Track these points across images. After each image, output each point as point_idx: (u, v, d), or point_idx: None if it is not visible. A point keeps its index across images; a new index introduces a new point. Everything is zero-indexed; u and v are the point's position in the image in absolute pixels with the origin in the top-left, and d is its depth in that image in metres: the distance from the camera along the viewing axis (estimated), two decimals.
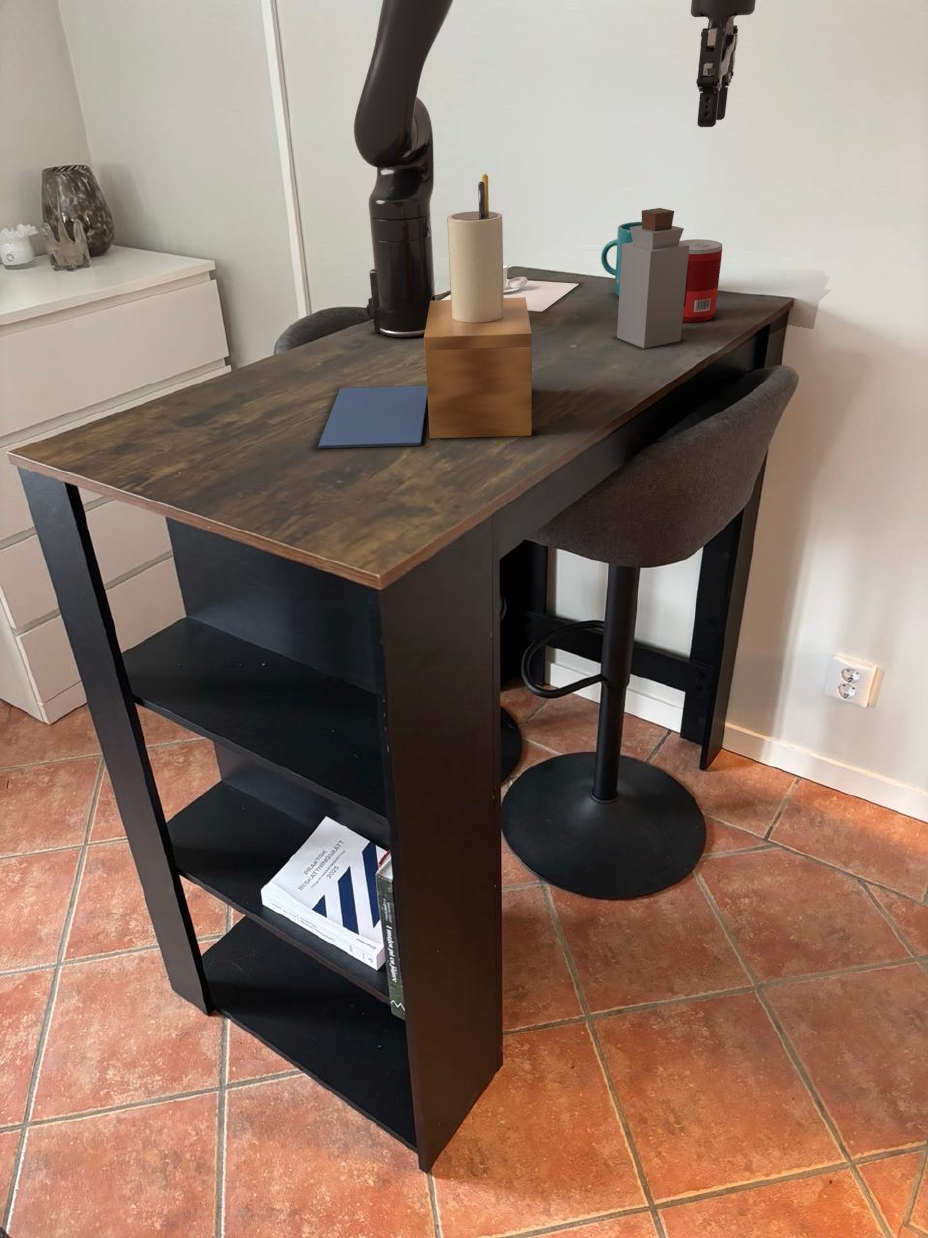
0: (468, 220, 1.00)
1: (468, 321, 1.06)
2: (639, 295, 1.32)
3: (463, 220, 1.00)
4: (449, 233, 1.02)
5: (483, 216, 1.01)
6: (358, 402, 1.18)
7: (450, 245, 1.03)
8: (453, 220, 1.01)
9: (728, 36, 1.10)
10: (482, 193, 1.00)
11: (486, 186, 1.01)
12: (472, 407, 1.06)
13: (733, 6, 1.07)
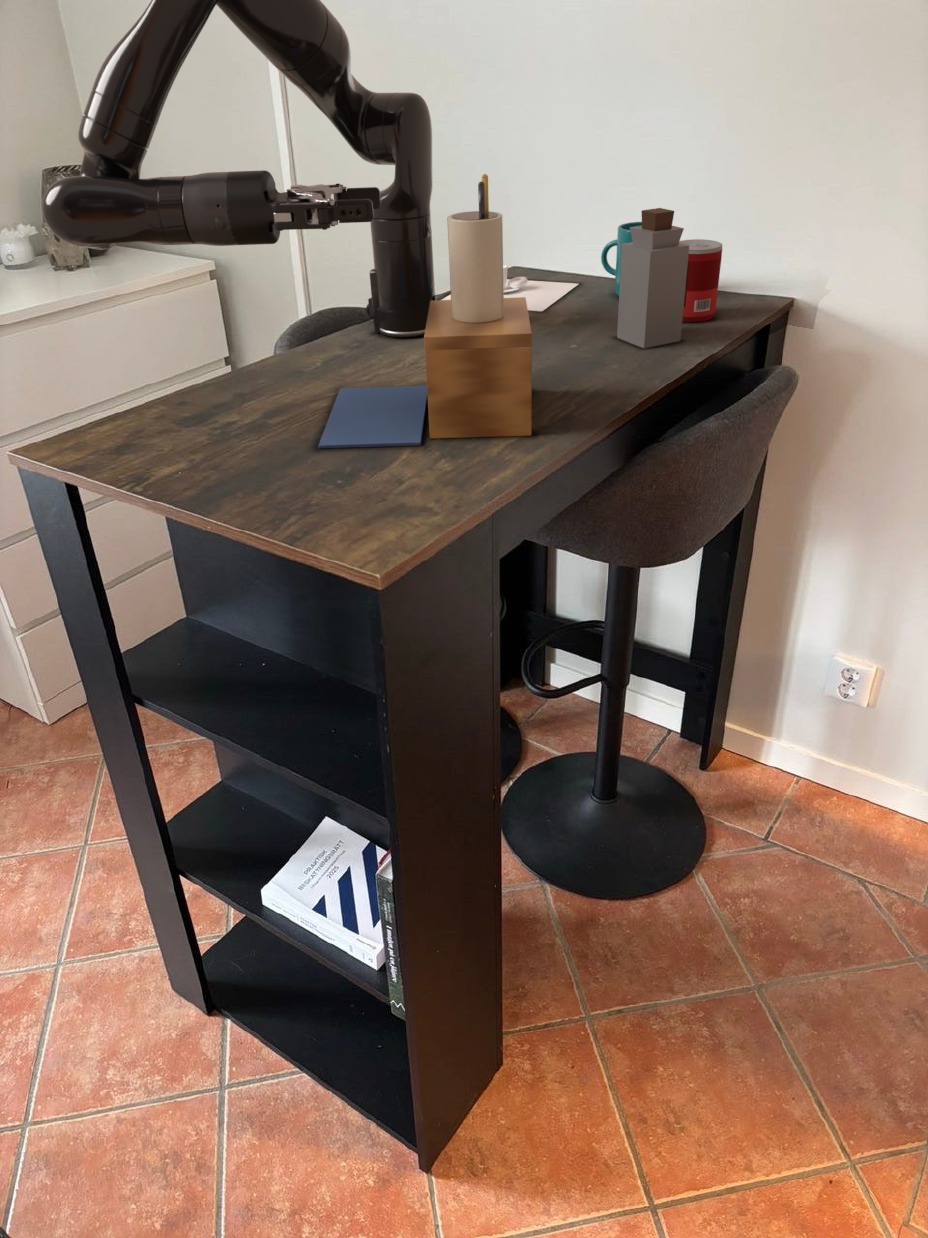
0: (468, 220, 1.00)
1: (468, 321, 1.06)
2: (639, 295, 1.32)
3: (463, 220, 1.00)
4: (449, 233, 1.02)
5: (483, 216, 1.01)
6: (358, 402, 1.18)
7: (450, 245, 1.03)
8: (453, 220, 1.01)
9: None
10: (482, 193, 1.00)
11: (486, 186, 1.01)
12: (472, 407, 1.06)
13: None
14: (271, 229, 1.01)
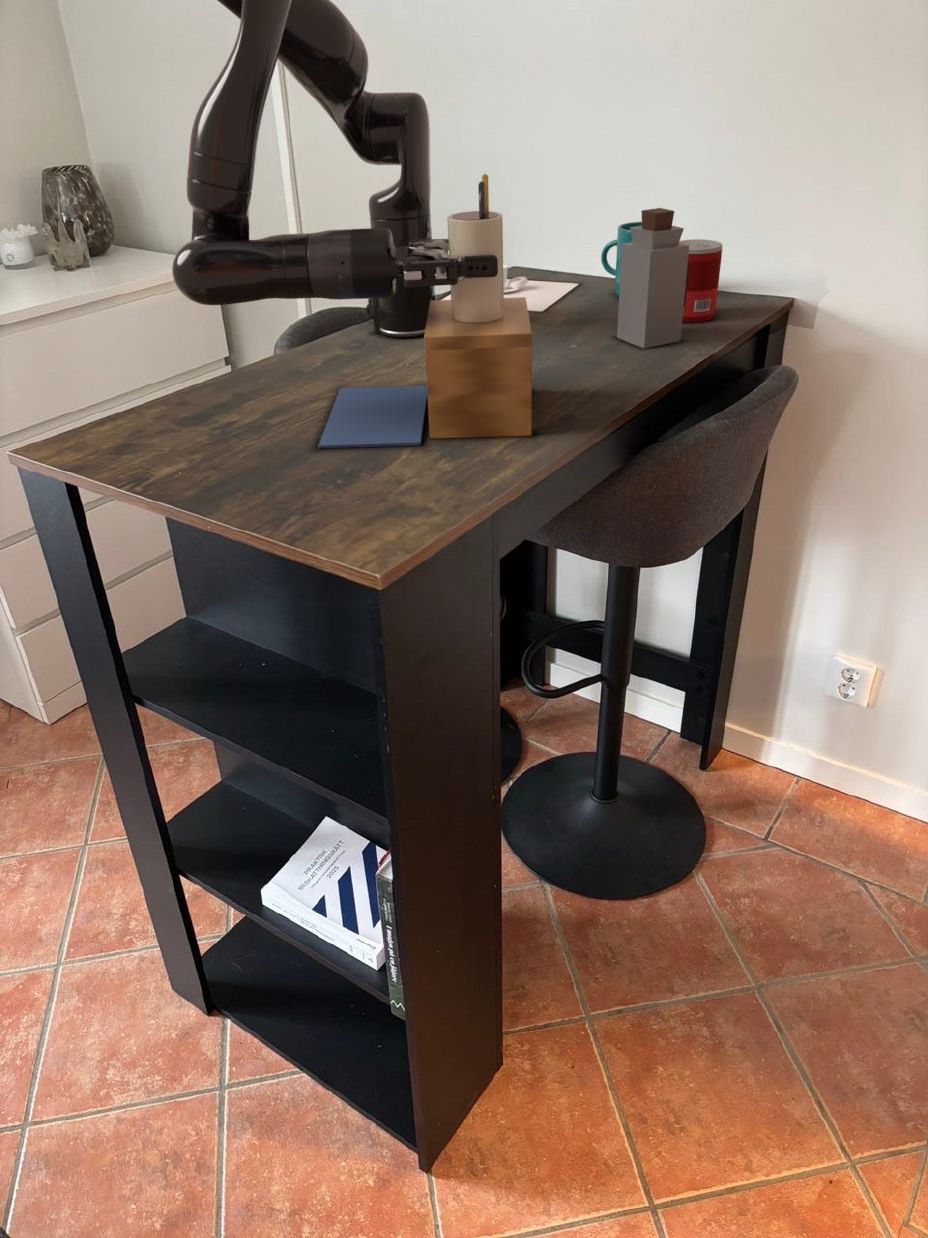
0: (468, 220, 1.00)
1: (468, 321, 1.06)
2: (639, 295, 1.32)
3: (463, 220, 1.00)
4: (449, 233, 1.02)
5: (483, 216, 1.01)
6: (358, 402, 1.18)
7: (450, 245, 1.03)
8: (453, 220, 1.01)
9: None
10: (482, 193, 0.99)
11: (486, 186, 1.01)
12: (472, 407, 1.06)
13: None
14: (391, 284, 1.04)
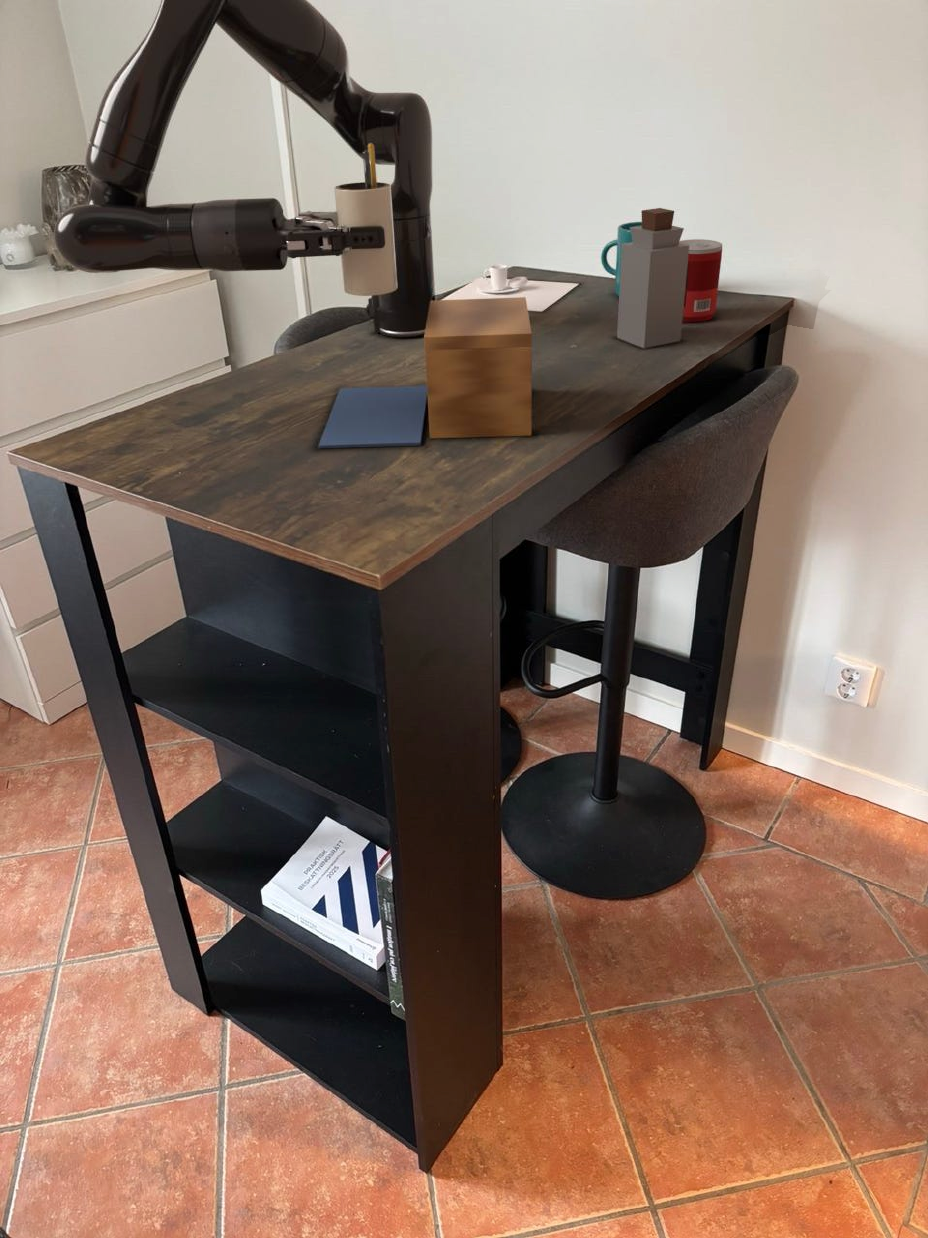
0: (353, 190, 0.98)
1: (359, 294, 1.04)
2: (639, 295, 1.32)
3: (348, 190, 0.99)
4: (336, 203, 1.01)
5: (369, 186, 0.99)
6: (358, 402, 1.18)
7: (338, 216, 1.01)
8: (339, 190, 0.99)
9: None
10: (367, 162, 0.98)
11: (372, 155, 0.99)
12: (472, 407, 1.06)
13: None
14: (279, 256, 1.03)
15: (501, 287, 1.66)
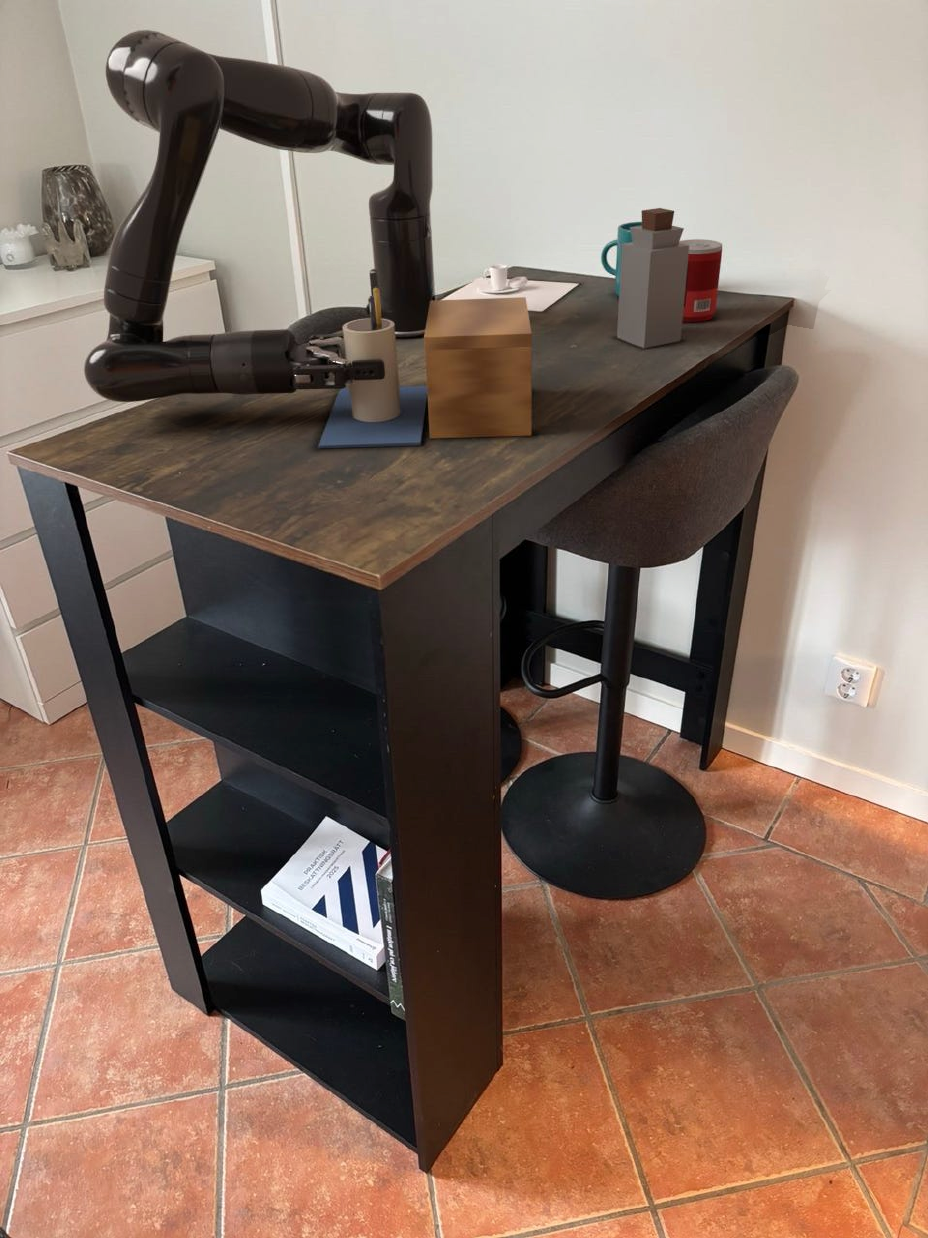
0: (360, 331, 1.07)
1: (365, 421, 1.12)
2: (639, 295, 1.32)
3: (355, 331, 1.07)
4: (344, 341, 1.09)
5: (375, 327, 1.07)
6: None
7: (346, 352, 1.10)
8: (346, 330, 1.07)
9: None
10: (372, 306, 1.06)
11: (377, 299, 1.07)
12: (472, 407, 1.06)
13: None
14: (291, 382, 1.11)
15: (501, 287, 1.66)
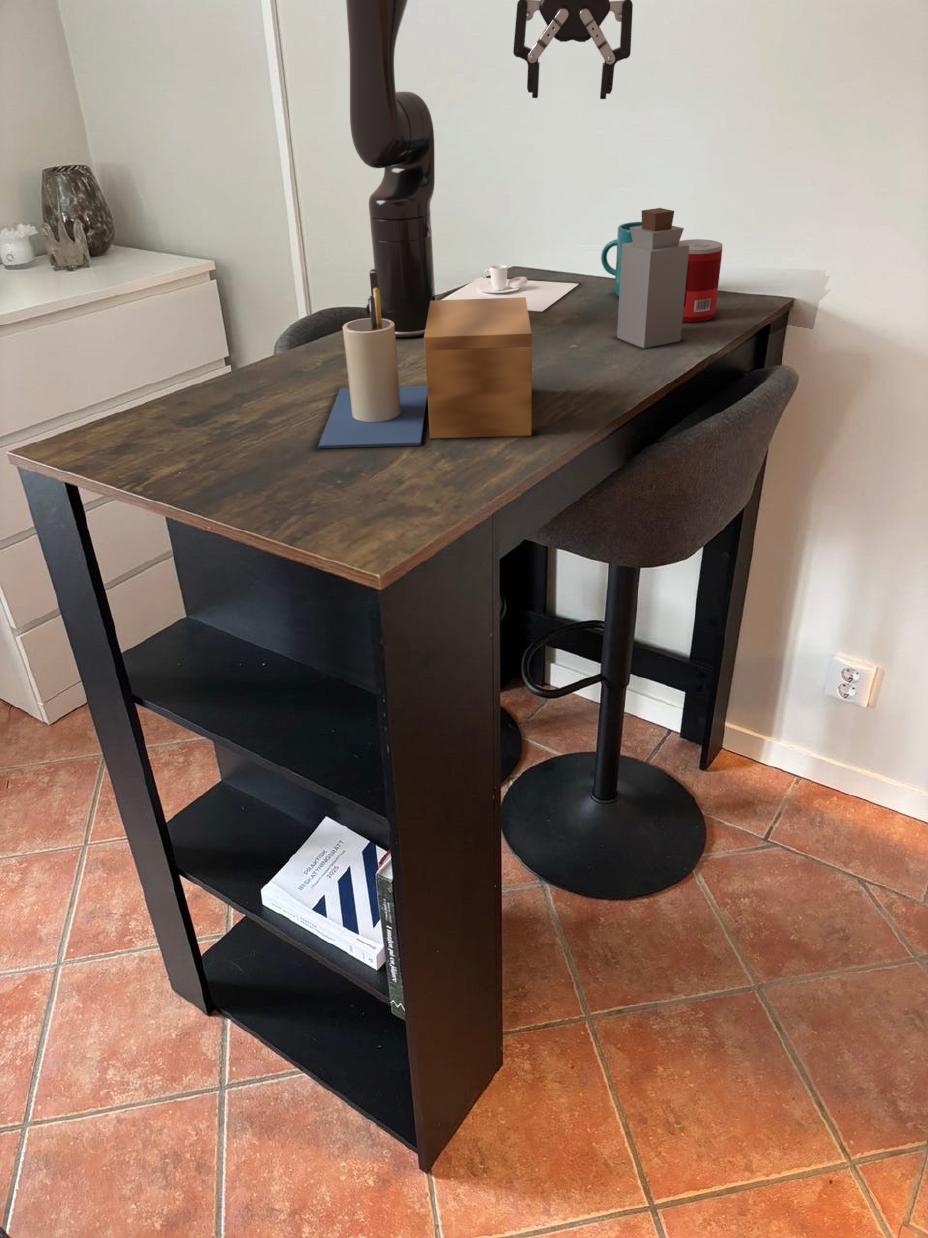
0: (360, 331, 1.07)
1: (365, 421, 1.12)
2: (639, 295, 1.32)
3: (355, 331, 1.07)
4: (344, 341, 1.09)
5: (375, 327, 1.07)
6: None
7: (346, 352, 1.10)
8: (346, 330, 1.07)
9: (559, 9, 1.09)
10: (372, 306, 1.06)
11: (377, 299, 1.07)
12: (472, 407, 1.06)
13: None
14: None
15: (501, 287, 1.66)
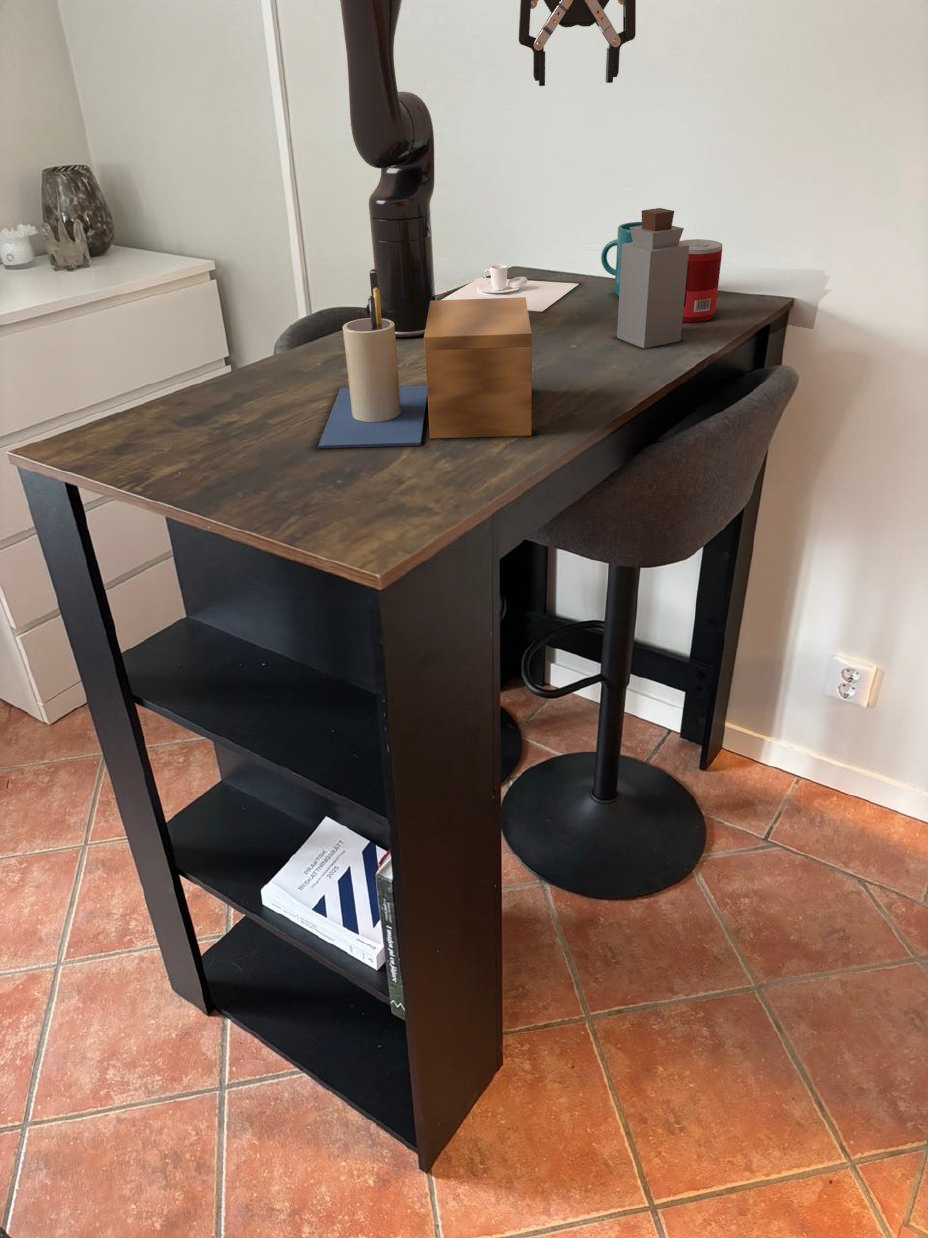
0: (360, 331, 1.07)
1: (365, 421, 1.12)
2: (639, 295, 1.32)
3: (355, 331, 1.07)
4: (344, 341, 1.09)
5: (375, 327, 1.07)
6: None
7: (346, 352, 1.10)
8: (346, 330, 1.07)
9: None
10: (372, 306, 1.06)
11: (377, 299, 1.07)
12: (472, 407, 1.06)
13: None
14: None
15: (501, 287, 1.66)
